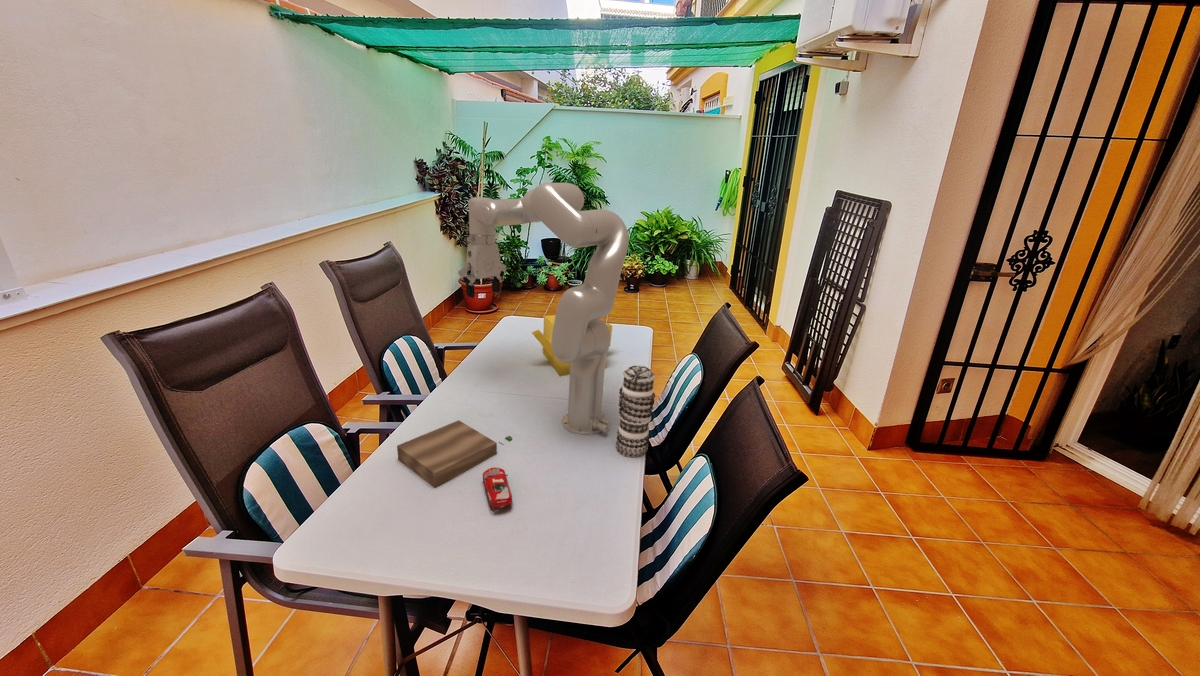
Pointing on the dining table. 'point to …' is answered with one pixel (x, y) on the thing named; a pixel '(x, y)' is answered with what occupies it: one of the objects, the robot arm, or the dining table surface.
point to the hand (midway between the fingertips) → (483, 294)
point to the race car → (497, 488)
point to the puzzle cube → (508, 439)
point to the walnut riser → (446, 452)
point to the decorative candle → (635, 411)
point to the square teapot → (547, 348)
